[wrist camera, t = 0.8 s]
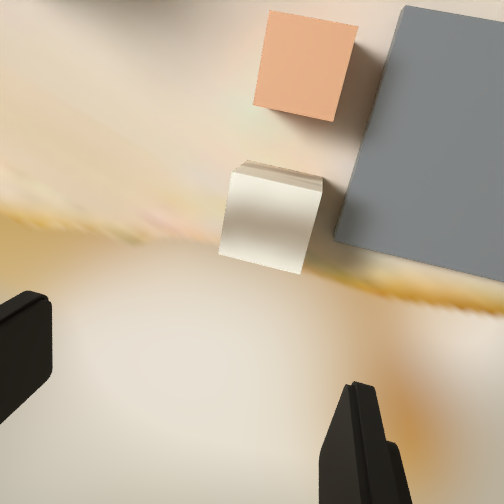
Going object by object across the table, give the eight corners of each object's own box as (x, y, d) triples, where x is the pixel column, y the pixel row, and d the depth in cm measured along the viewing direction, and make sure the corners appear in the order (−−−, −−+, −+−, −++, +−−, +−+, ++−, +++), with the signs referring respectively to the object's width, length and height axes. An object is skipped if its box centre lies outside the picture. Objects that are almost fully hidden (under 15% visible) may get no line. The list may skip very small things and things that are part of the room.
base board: (401, 10, 25) (405, 5, 23) (664, 57, 23) (685, 54, 22) (333, 235, 31) (333, 241, 30) (532, 282, 30) (542, 291, 29)
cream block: (248, 160, 30) (231, 171, 25) (322, 176, 30) (322, 192, 24) (235, 229, 33) (218, 254, 28) (303, 246, 32) (300, 274, 27)
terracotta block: (278, 26, 26) (269, 10, 22) (351, 40, 26) (358, 26, 21) (264, 105, 29) (253, 105, 24) (331, 119, 28) (333, 121, 24)
